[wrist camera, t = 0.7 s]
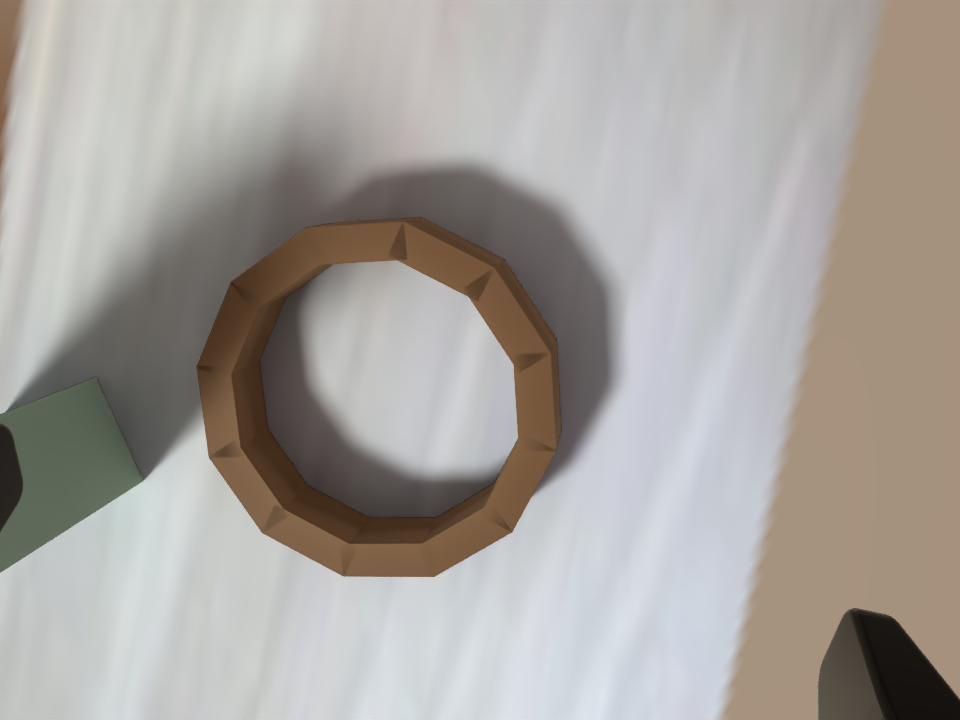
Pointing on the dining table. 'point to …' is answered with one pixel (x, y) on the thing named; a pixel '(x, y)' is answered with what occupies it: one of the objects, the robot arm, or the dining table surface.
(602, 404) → the dining table surface
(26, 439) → the green rectangular block
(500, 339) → the walnut ring
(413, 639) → the dining table surface
